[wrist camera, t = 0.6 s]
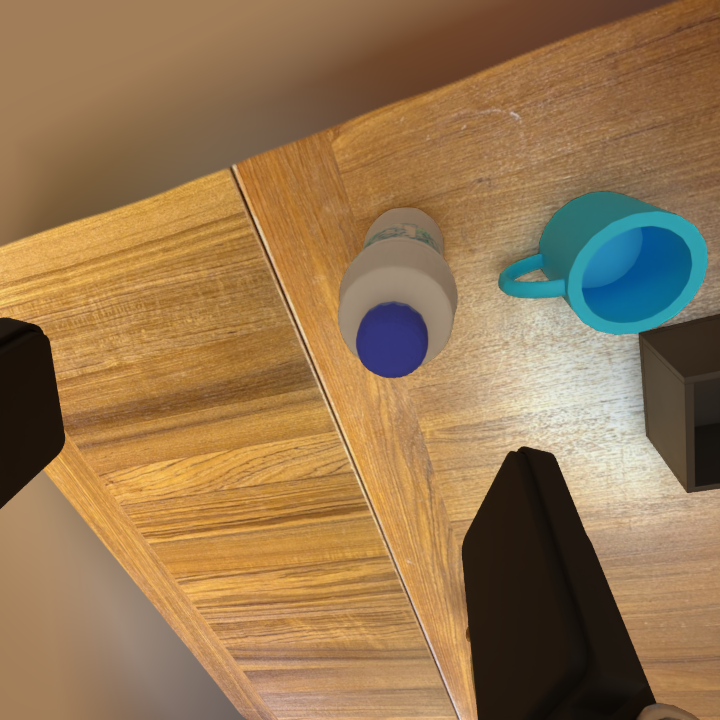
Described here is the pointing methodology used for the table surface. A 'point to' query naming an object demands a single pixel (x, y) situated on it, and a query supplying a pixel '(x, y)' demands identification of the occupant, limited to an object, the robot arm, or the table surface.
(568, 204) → the mug
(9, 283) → the table surface
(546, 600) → the robot arm
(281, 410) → the table surface
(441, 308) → the bottle
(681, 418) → the bin
